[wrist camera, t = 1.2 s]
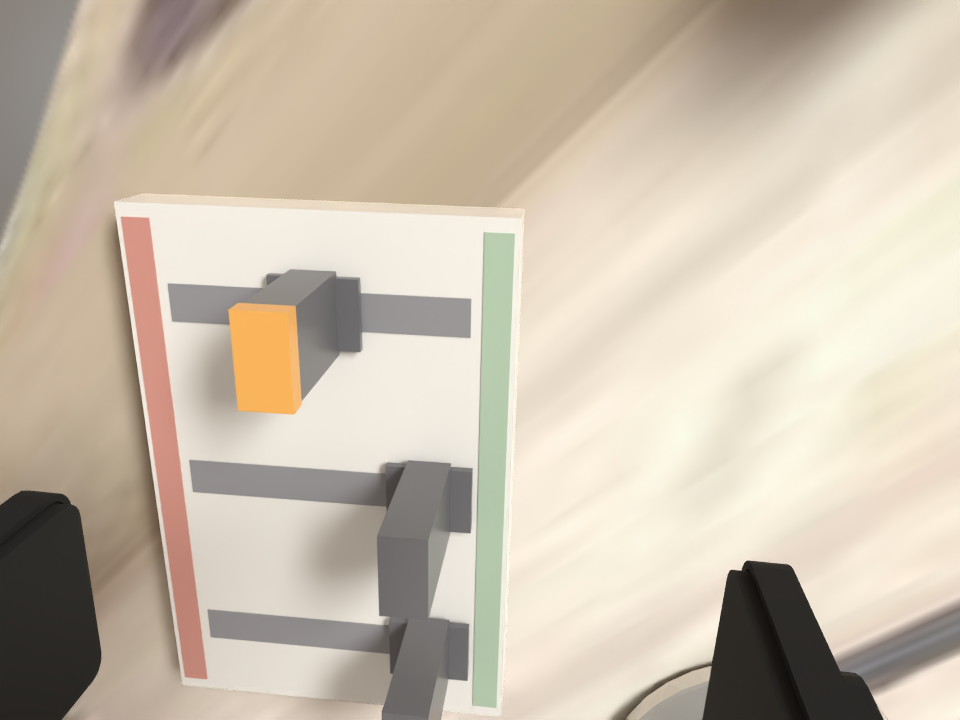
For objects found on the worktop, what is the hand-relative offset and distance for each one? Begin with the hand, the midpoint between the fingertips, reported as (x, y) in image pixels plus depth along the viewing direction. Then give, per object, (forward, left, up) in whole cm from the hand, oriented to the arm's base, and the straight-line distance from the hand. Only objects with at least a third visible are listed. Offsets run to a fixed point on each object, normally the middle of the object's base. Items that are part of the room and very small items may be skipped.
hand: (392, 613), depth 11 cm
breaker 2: (-13, +7, -16) cm, 22 cm away
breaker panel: (-5, +8, -18) cm, 21 cm away
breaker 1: (-7, +4, -16) cm, 18 cm away
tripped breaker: (+1, +6, -16) cm, 17 cm away
